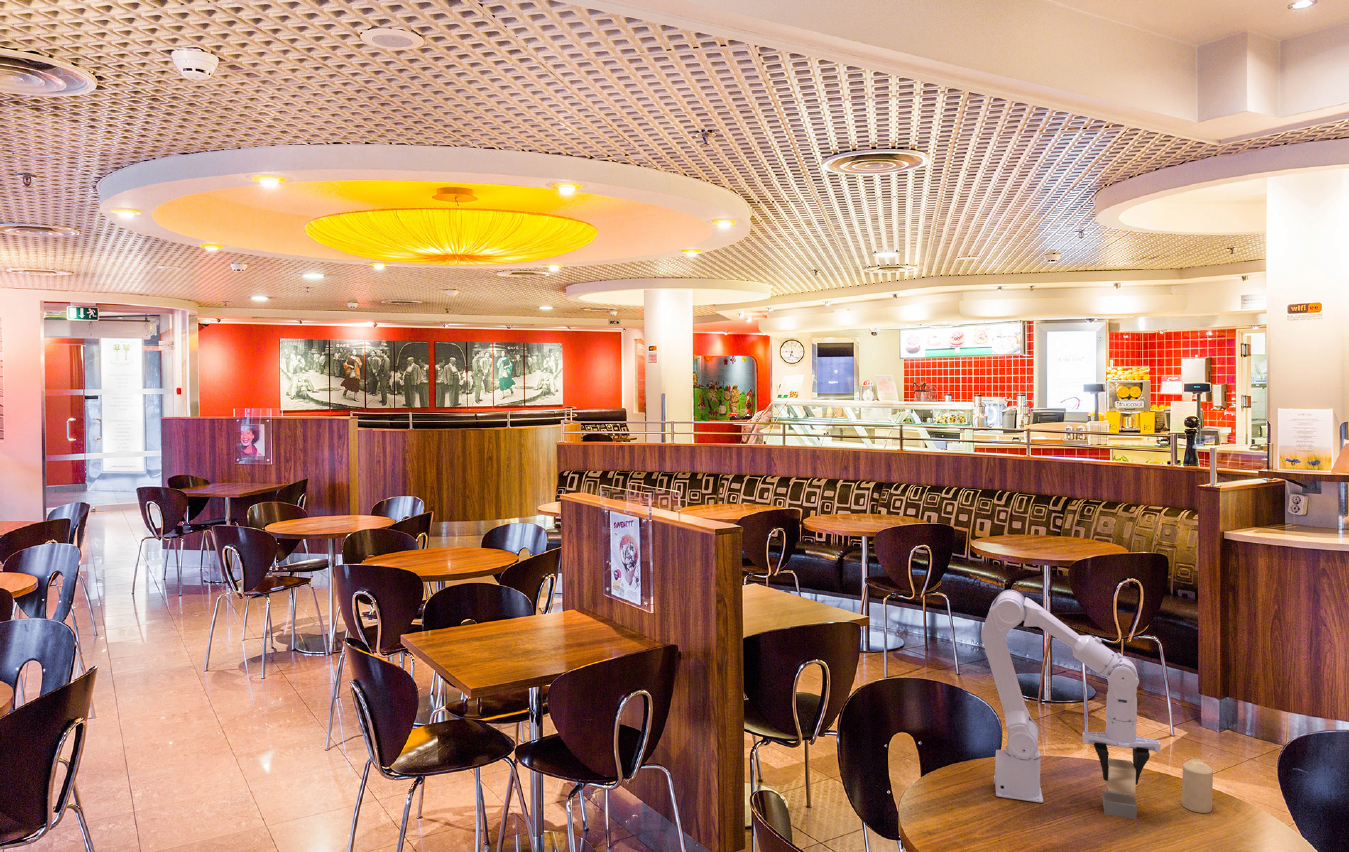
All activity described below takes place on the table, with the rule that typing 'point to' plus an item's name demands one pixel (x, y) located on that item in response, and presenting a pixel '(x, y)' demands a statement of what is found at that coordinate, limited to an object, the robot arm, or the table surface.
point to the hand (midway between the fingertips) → (1120, 780)
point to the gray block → (1119, 804)
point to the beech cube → (1121, 776)
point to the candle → (1197, 786)
